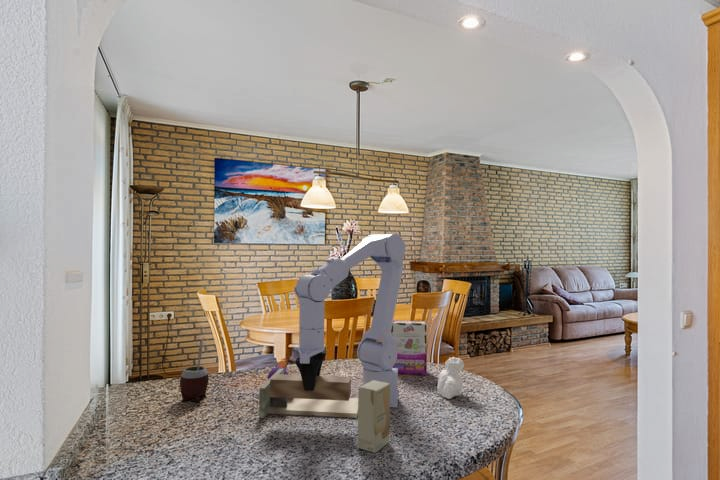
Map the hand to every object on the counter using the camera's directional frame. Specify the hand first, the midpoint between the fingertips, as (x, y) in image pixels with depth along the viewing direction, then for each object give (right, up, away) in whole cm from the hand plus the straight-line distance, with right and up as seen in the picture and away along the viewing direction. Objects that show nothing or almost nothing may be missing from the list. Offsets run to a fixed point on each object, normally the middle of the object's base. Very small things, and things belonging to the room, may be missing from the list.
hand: (311, 386), depth 95 cm
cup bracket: (0, -8, +9) cm, 13 cm away
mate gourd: (-33, -9, +15) cm, 37 cm away
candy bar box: (+27, -10, +40) cm, 49 cm away
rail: (0, -2, 0) cm, 2 cm away
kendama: (-13, -9, +31) cm, 35 cm away
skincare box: (+14, -9, -10) cm, 19 cm away
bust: (+36, -9, +20) cm, 42 cm away
